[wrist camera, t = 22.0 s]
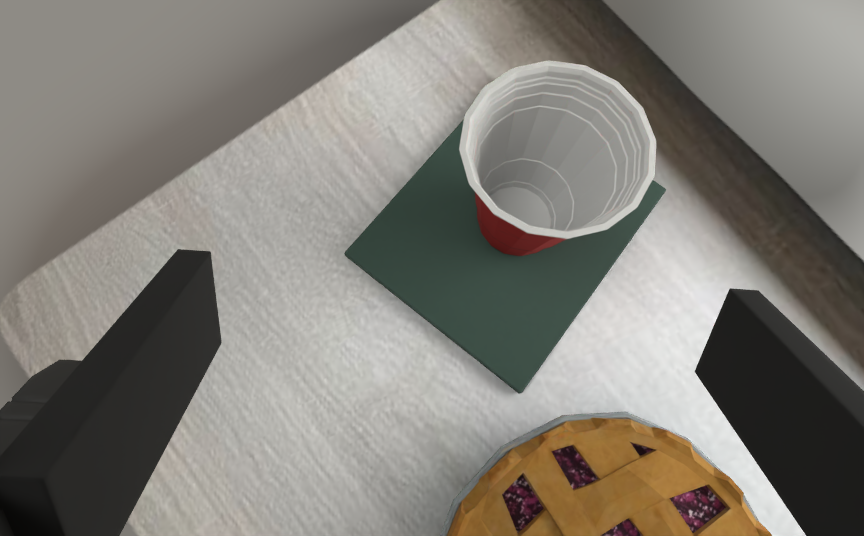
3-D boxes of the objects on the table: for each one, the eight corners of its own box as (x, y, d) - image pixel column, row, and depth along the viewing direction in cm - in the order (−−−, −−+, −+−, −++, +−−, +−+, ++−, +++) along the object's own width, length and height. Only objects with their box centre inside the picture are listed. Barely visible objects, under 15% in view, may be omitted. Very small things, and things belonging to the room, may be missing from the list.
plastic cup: (438, 155, 42) (455, 54, 30) (574, 155, 43) (641, 56, 31) (444, 292, 39) (466, 237, 27) (590, 288, 40) (672, 234, 28)
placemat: (344, 255, 40) (344, 252, 39) (502, 78, 45) (504, 73, 44) (519, 394, 38) (521, 393, 37) (663, 192, 43) (666, 189, 42)
